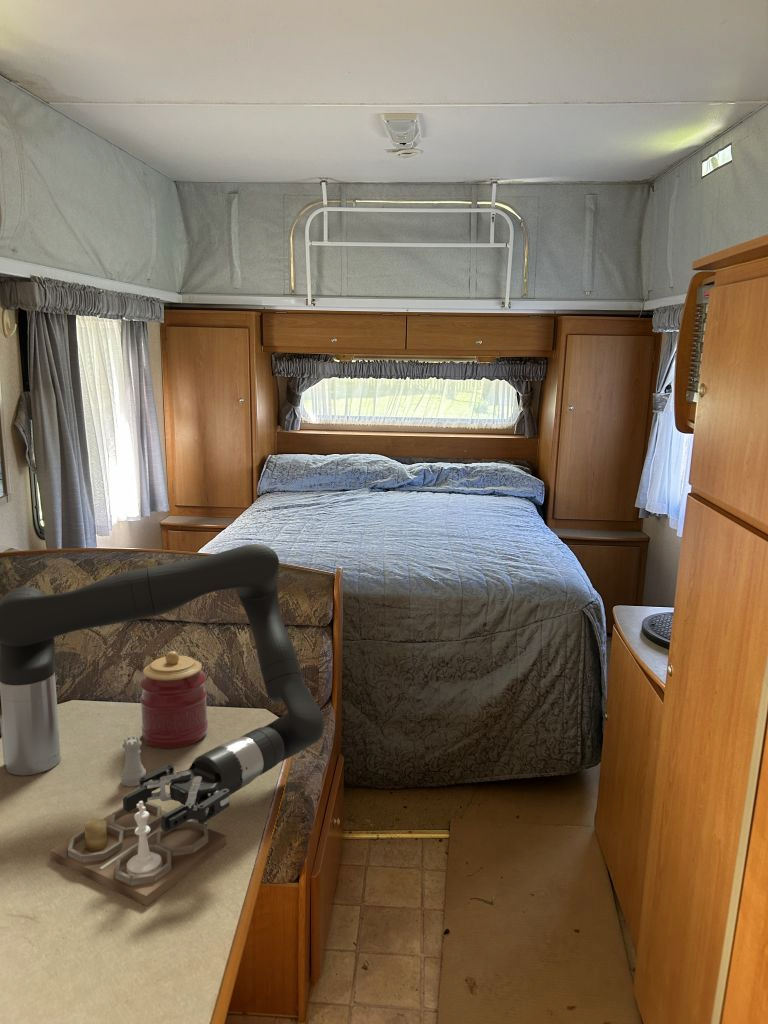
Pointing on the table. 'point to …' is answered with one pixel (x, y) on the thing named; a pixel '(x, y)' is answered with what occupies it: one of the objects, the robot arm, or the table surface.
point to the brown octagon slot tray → (116, 843)
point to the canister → (173, 702)
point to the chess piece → (143, 848)
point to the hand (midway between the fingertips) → (143, 814)
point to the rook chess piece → (132, 763)
